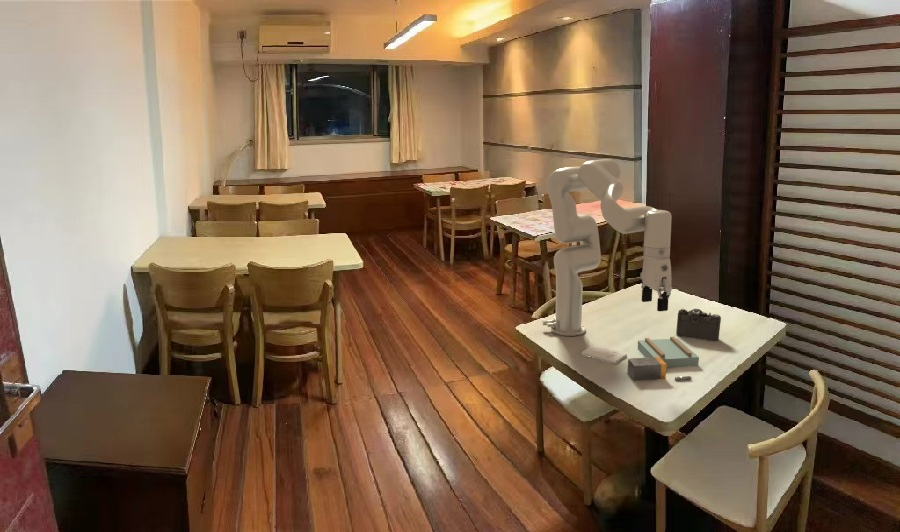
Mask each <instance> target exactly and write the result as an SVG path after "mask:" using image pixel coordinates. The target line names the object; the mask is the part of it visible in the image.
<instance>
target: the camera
mask: <svg viewBox="0 0 900 532" xmlns="http://www.w3.org/2000/svg"><path fill="white" fill-rule="evenodd" d="M676 320H677V322H676V331H675V334H676V336H679V337H683V338H690V339H695V340H703V341H709V342H710V341H711V342H718V341H719V339H720V329H721V324H722V323H721V321H722V317H721V315H720V314H717V313H715V314H712V313H711V312H708V313H707V312H706V311H705V312H704V311H702V310H701V309H699V308H693V309H691V310H687V309H685V308H681V309H679V310H678V312H677V319H676Z"/></svg>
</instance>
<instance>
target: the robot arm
mask: <svg viewBox="0 0 900 532" xmlns="http://www.w3.org/2000/svg"><path fill="white" fill-rule="evenodd" d="M620 177H621V167H620V166H619V163H617V162H616V161H615V160H613V159H609V158H607V159H606V158H603V159H595V160H594V159H593V160H588V161H585V162H583V163H582V164H581V165H580V166H568V167H562V168H559V169H556V170H554V171H552V172H551V173H550V174H549V176H548V178H547V184H546V187H547V188H546V189H547V194H548V197H549V200H550V205H551V209H552V218H553V219H552V220H553V228H554V235H555V238H556V241H558V243H560V244H571V243H578V242H579V245H573V246H568V247H563V248H561V249H559V250H557V251H556V252H555V254H554V256H553V265H554V271H555V316H553V318H552V319H549V320H548V319H543V320H542V321H541V323H542V326H547V327H548V328H550V330H551V332H553V333H554V334H557V335H559V336H565V337H574V336H575V337H576V336H581V335H583V334H585V333H586V329H587V328H586V326H585V325H584V324H582V322H583V321H582V318H583V317H582V316H583V315H582V314H583V312H582V311H583V290H584V289H583V288H584V286H583V282H582V279H581V278H580V276H579V275H578V273H581V272H587V271H592V270H594V269H597V268H598V267H599V266H600V264H601V257H602V255H601V244H600V235H599V229H598V227H599V226H598V225H597V222H596V220H595V219H594V217H593V216H591V215H590V214H578V211H577V203H576V200H574V198H573V197H572V195H571V194H570V192H571V193H572V192H580V191H581V192H582V191H588V190H589V191H590V192H591V193H592V194H593V195H594V196H595V197H596V198H597V199H598V200H599V201H600V212H601V215H602V217H603V219H604V220H605V221H606V223H608V225H610V227H611V228H612V229H614V230H615V231H616V232H618V233H621V234H630V233H631V234H632V233H637V232H643V233H644V235H643V236H644V237H643V263H642V271H641V272H640V273H639V274H640V275H639V276H640V283H641V302H643V303H647V302H652V301H653V291H655V292H656V293H657V296H658V298H657V302H656V304H657V305H656V311H657V312H667V311H668V310H669V299H670V297H671V293H672V290H673V287H672V265H671V264H672V263H671V259H670V256H671V237H672V236H671V235H672V214H671V212H670V211H668V210H665V209H664V210H663V209H657V208H654V207H653V206H650V205H649V206H648V205H643V206H635V207H628V208H623V207H622V206H621V205H620V204H619V203H618V200H619V199H620V198H621V196H622V195H623V191H624V185H623V183H622V182H621V181H620V180H619V179H620Z"/></svg>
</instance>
